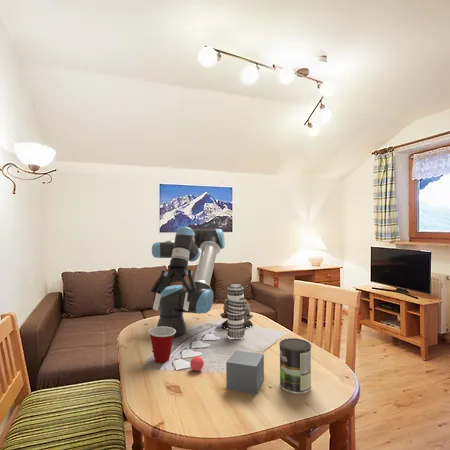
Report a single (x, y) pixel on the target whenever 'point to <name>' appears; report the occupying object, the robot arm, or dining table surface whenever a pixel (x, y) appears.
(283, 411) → the dining table surface
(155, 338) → the plastic cup
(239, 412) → the dining table surface
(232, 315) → the decorative candle
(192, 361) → the ball
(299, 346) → the coffee can
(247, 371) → the grey cube
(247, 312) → the owl figurine
